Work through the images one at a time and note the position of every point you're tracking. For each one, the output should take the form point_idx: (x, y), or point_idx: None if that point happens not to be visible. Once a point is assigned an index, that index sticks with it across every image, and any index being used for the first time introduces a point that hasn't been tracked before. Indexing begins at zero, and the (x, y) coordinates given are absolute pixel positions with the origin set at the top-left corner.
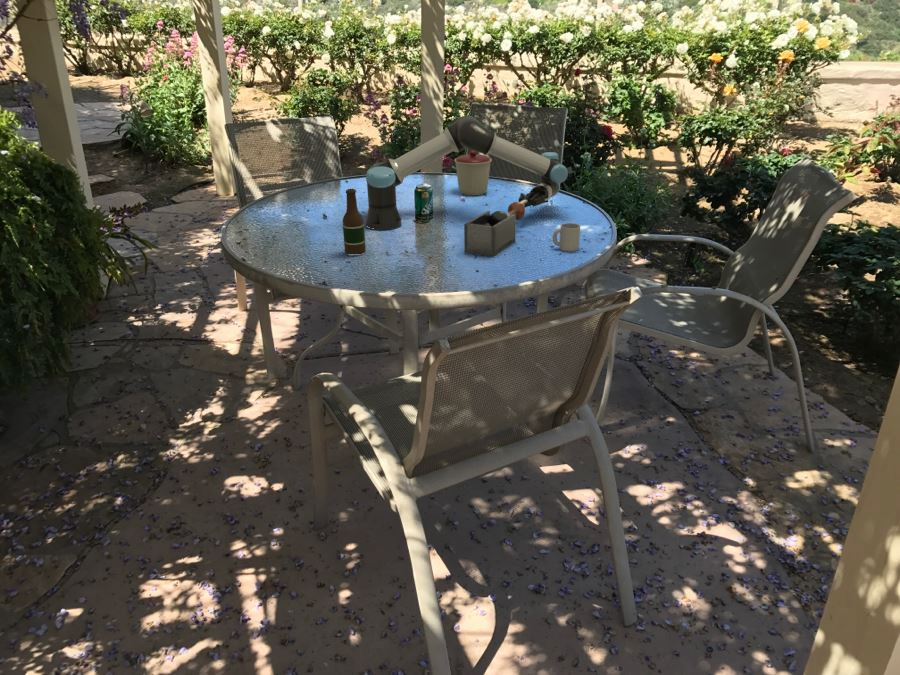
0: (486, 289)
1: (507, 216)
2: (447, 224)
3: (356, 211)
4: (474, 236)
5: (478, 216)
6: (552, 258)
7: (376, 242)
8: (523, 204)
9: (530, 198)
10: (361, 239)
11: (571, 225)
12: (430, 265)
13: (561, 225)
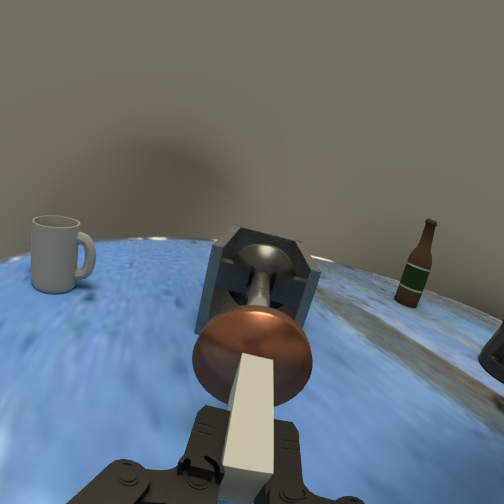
0: (201, 240)
1: (237, 253)
2: (468, 417)
3: (418, 245)
4: None
5: (306, 254)
6: (107, 264)
7: (430, 324)
8: (232, 397)
9: (180, 459)
10: (401, 278)
11: (43, 231)
12: None
13: (75, 226)
